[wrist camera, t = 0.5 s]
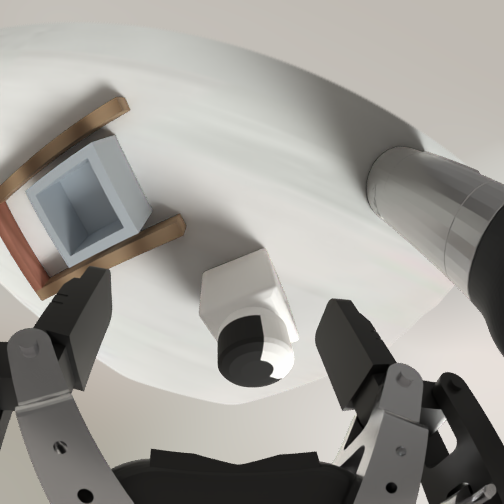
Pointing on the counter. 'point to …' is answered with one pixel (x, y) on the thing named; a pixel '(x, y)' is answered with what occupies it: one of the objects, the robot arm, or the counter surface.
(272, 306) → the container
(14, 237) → the bay
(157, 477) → the robot arm
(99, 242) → the box
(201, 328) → the counter surface
